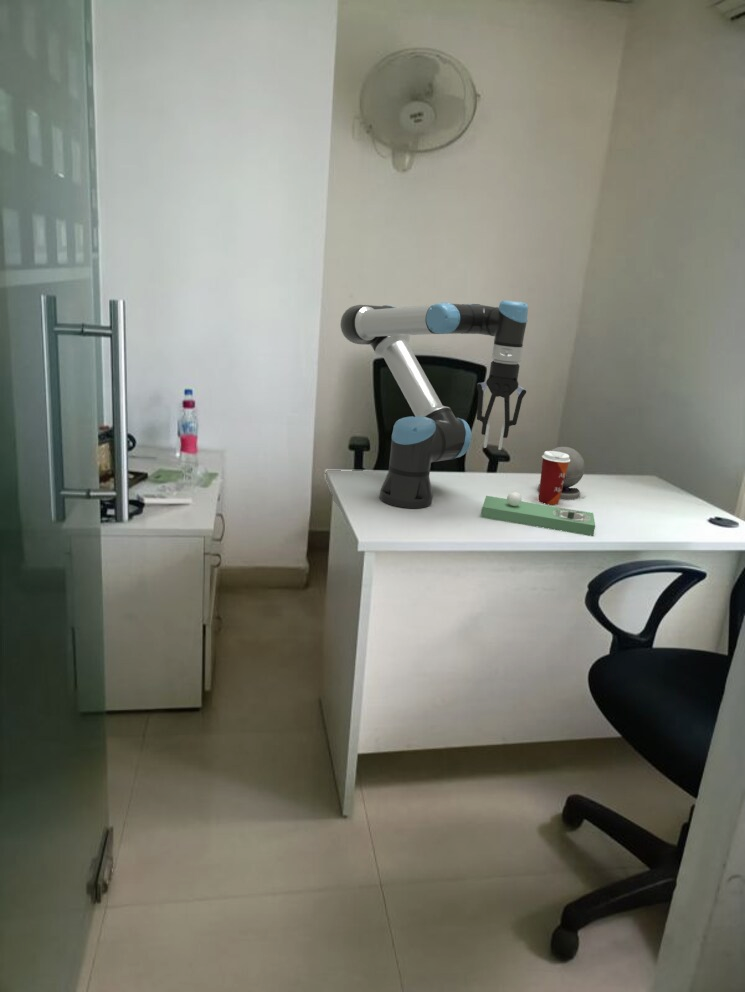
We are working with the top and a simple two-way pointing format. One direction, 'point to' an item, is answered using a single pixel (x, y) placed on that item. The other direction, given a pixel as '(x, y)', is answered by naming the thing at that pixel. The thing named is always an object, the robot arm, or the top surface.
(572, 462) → the webcam
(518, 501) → the ball
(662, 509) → the top surface
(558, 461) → the coffee cup
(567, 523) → the putting strip
